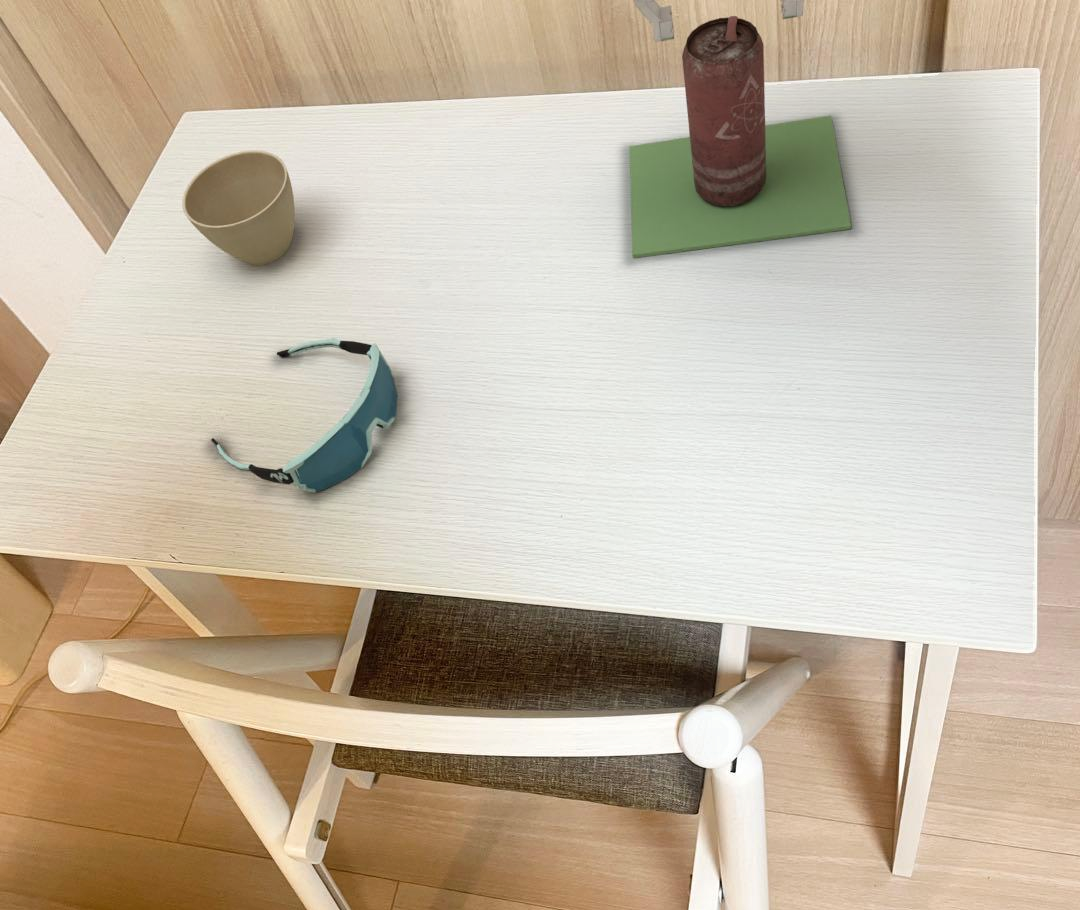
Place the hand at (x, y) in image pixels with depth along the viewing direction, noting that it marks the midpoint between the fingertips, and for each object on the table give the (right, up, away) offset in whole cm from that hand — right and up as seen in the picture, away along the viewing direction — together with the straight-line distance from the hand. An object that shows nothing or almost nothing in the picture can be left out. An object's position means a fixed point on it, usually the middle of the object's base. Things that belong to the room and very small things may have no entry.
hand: (727, 25), depth 77 cm
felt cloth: (+3, -8, +13) cm, 15 cm away
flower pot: (-40, -11, +22) cm, 47 cm away
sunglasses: (-33, -29, +9) cm, 45 cm away
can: (+3, -8, +13) cm, 15 cm away
